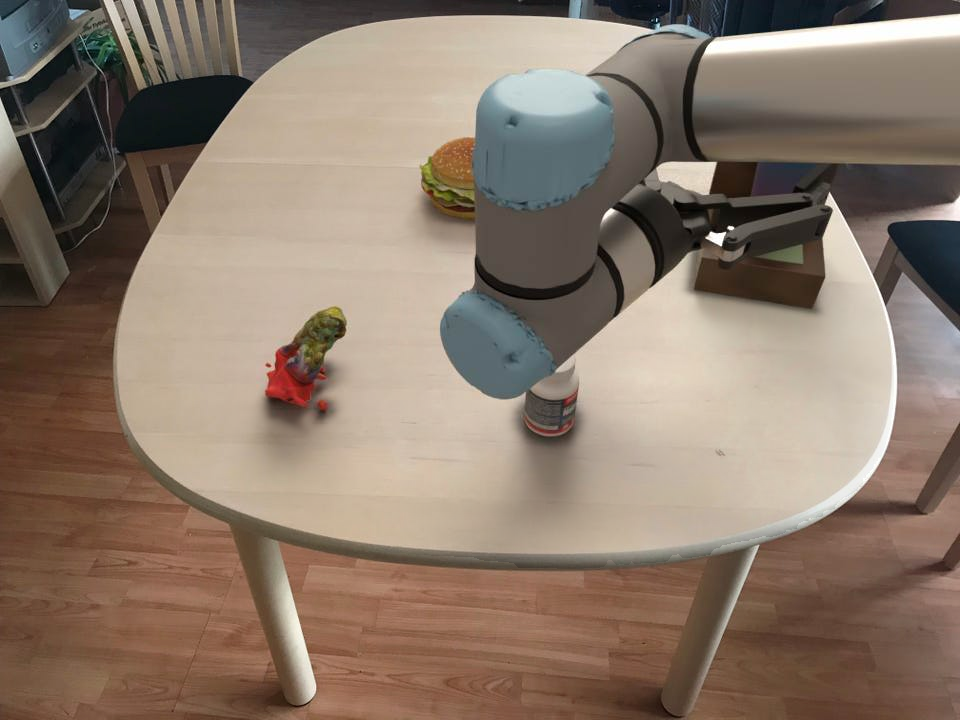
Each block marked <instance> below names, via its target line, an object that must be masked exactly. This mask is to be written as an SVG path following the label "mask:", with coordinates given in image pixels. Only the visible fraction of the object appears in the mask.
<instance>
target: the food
mask: <svg viewBox="0 0 960 720" xmlns="http://www.w3.org/2000/svg"><path fill="white" fill-rule="evenodd" d="M474 148H475V136H474V137H470V136H465V137H459V138H456V139H453V140H449V141H446V143H443V145H441V146H440V147H439V148H437V149H436V150H435V151H434V153H433V154H432V156H430V155H429V156H428V158H427V162H426V163H425V164H423V165H421V164H420V165H419V168H420V170H421V172H420V174H421V179H420V182H421V183H420V185H421V189H422V190H423V192H424V193H426V194H427V195H428V196H429V198H430V200H431V202H432V204H433V206H434V208H436V209H437V210H439V211H441V212H442V213H444V214H446V215H447V216H450V217H454V218H460V219H465V220H467V219H470V220H471V219H475V203H474V176H473V174H472V164H471V162H472V159H473V149H474Z"/></svg>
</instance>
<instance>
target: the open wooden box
mask: <svg viewBox="0 0 960 720" xmlns="http://www.w3.org/2000/svg"><path fill="white" fill-rule="evenodd" d="M819 164H820V163H818V165H819ZM757 165H758V162H732V161H717V162H715V166H714V170H713V173H712V174H713V175H712V178H711V183H710V187H709V191H708V195H710V194H724V195H725V196H726V198H728V199H729V198H742V197H751V192H752V188H753V183H754V178H755V174H756V169H757ZM818 165H817V166H818ZM840 166H841V163H837V166H836V169H835V171H834V174H833V177H832V180H831V182H830V184H831V185H830V190H829V193H828V195H827V198H826V201H825V203H824V204H823V205H826V202H827V200H828V197H829V195H830V192H831V190H832V187H833V184H834V181H835V179H836V176H837V174H838V170H839V168H840ZM708 211H709V217H710V221H711V217H712V213H713V209H708ZM823 238H824V237H823ZM823 238H822V239H820V240H816V241H812V242H809V243H805V244H801V245H797V246H794V247H790V248H786V249H782V250H778V251H775V252H771V253H767V254H763V255H760V256H756V257H752V258H748V259H745V260H743V261H742V262H740V263H739V264H737V265H736V266H735V267H733V268H732V269H729V270H724V269H721V268H719V267H718V266H717V260H718V256H717V255H715V254H713V253H711V252H710V251H708V250H706V249H704V248H702V249H700V250H697V255H696V257H697V258H696V265H695V273H694V281H693V290H695V291H700V292H707V293H711V294H712V293H713V294H717V295H718V294H719V295H724V296H731V297H737V298H743V299H749V300H755V301H762V302H767V303H774V304H778V305H779V304H780V305H786V306H791V307H798V308H805V309H810V310H813V308H814V306H815V304H816V301H817V299H818V296H819V294H820V291H821V289H822V286H823V284H824V281H825V280H826V265H825V252H824V239H823Z"/></svg>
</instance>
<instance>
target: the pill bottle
mask: <svg viewBox="0 0 960 720" xmlns="http://www.w3.org/2000/svg"><path fill="white" fill-rule="evenodd" d="M576 362H577V359H576V355H575V354H573V355H572V356H571V357H570V358H569V359H568V360H567V361H566V362H564V363H563V364H562V365H561V366H560V367H559V368H558V369H557V370H556V372H555V373H554V374H553V375H551V376H549V377H545V378H543V379H542V380H541V381H539V382H538V383H537V384H535V385H534V386H533V387H532V388H530V389H529V390H528V391H526V392H525V397H524V407H523V409H524V410H523V419H524V422H525V424H526V426H527V427H528V429H529V430H530V431H532V432H534V433H536V434H537V435H540V436H543V437H558V436H561V435H563V434H565V433H567V432H568V431H570V429H571V428H572V427H573V425H574V423H575V417H576V410H577V402H578V395H579V388H580V374H579V372H578V370H577V369H576Z"/></svg>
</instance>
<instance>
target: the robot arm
mask: <svg viewBox="0 0 960 720" xmlns="http://www.w3.org/2000/svg"><path fill="white" fill-rule="evenodd" d="M474 130H475V131H474V132H475V134H474V135H475V136H474V137H475V148H474V149H473V159H472V162H471V164H472V174H473V176H474V203H475V218H474V233H475V234H474V235H475V236H474V237H475V255H474V260H473V261H474V270H473V271H474V283H473V285H472V287H471V288H470V289H469V290H468V289H467V290H466V291H462V292H461V294H459V295H458V297H457V298H456V299H455V300H454V301H453V302H452V303H451V304H450V305H448V307H447V308H446V309H445V311H444V312H443V314H442V317H441V319H440V323H439V335H440V340H441V344H442V348H443V349H444V352H445V354H446V357H447V358H448V360H449V361H450V363H451V365H452V366H453V368H454V369H455V371H456V372H457V373H458V374H459V375H460V377H461V378H462V379H463V380H464V381H465V382H466V383H468V385H470V386H471V387H474V388H475V389H476V390H478V391H480V392H481V393H482V394H483V395H485V396H487V397H490V398H493V399H497V400H504V401H505V400H506V401H507V400H512V399H513V400H514V399H516V398H519V397H521V396H522V395H525V394H526V391H528V390H529V389H530V388H532V387H533V386H534V385H535V384H537V383H538V382H539V381H541V380H542V379H543V378H545V377H549V376H551V375H553V374H554V373H555V372H556V370H557V369H558V368H559V367H560V366H561V365H562V364H563V363H564V362H566V361H567V360H568V359H569V358H570V357H571V356H572V355H573V354H574V355H575V354H576V353H577V352H578V351H579V350H580V349H581V348H583V347H584V346H585V345H586V344H587V343H589V342H590V341H591V340H592V339H593V338H594V337H596V336H597V335H598V334H599V333H601V331H602V330H603V329H604V328H606V326H608V324H609V323H610V322H611V321H612V320H614V319H615V318H617V317H618V316H619V315H621V314H622V313H623V312H624V311H625V310H626V309H628V308H629V307H630V306H631V305H632V304H633V303H634V302H635V301H637V300H638V299H639V298H640V297H641V296H643V295H644V294H645V293H646V292H647V291H648V290H649V289H651V288H653V287H654V286H655V285H656V284H658V283H659V282H660V281H661V280H662V279H664V277H666V276H667V275H668V274H669V273H670V272H672V271H673V270H674V269H676V267H677V266H678V265H679V264H680V263H681V262H682V261H683V259H684V258H685V257H686V256H687V255H688V254H689V253H692V252H695V251H696V252H697V251H698V250H700V249H702V248H704V249H706V250H708V251H710V252H711V253H713V254H715V255H717V256H718V260H717V266H718V267H719V268H721V269H724V270H729V269H732V268H733V267H735V266H736V265H737V264H739V263H740V262H742V261H743V260H745V259H748V258H752V257H756V256H760V255H763V254H767V253H771V252H775V251H778V250H782V249H786V248H790V247H794V246H797V245H801V244H805V243H809V242H812V241H816V240H820V239H822V238H824V237H825V233H826V230H827V228H828V225H829V222H830V219H831V217H832V215H833V212H834V209H833V207H831V206H829V205H827V204H826V203H825V201H826V202H827V200H826V198H827V199H828V197H827V195H828V193H829V194H830V192H829V190H830V191H831V189H830V185H831V184H830V182H831V180H832V177H833V174H834V171H835V169H836V166H837V163H840V164H854V165H855V164H857V165H858V164H859V165H860V164H861V165H866V164H867V165H909V166H911V165H913V166H915V165H918V166H919V165H920V166H960V13H953V14H943V15H942V14H941V15H934V16H933V15H932V16H923V17H922V16H921V17H913V18H912V17H911V18H902V19H901V18H900V19H891V20H883V21H881V20H880V21H871V22H862V23H852V24H839V25H829V26H820V27H819V26H818V27H810V28H809V27H808V28H799V29H789V30H780V31H770V32H769V31H767V32H759V33H748V34H738V35H728V36H727V35H726V36H715V37H711V36H710V35H709V34H708V33H706V32H703V31H701V30H699V29H697V28H695V27H693V26H690V25H687V24H682V23H681V24H679V23H676V24H675V23H673V24H667V25H663V26H660V27H657V28H656V29H655V28H654V29H653V30H651V31H649V32H647V33H643V34H640V35H637V36H636V37H635V38H633V39H632V40H631V41H628V42H626V43H625V44H624V45H623V46H621V47H620V49H618V50H617V51H616V52H615V53H614V54H613V55H612V56H610V57H609V58H607V59H606V60H604V61H602V62H601V63H600V64H599V65H597V66H596V67H595V68H593V69H592V70H590V71H589V72H588V73H586V74H583V73H582V74H581V73H579V72H575V71H573V70H568V69H562V68H552V67H551V68H550V67H544V68H542V67H541V68H529V69H528V70H527V69H526V71H525V72H524V73H508V74H505V75H503V76H501V77H500V78H498V79H496V80H495V81H493V82H492V83H491V84H490V85H489V86H488V87H487V88H486V89H484V91H483V93H482V95H480V97H479V101H478V103H477V106H476V112H475V129H474ZM717 161H732V162H791V163H820V164H819V165H818V166H817V167H815V168H814V169H813V170H812V171H811V172H810V173H809V174H808V175H806V176H805V177H804V178H803V179H802V180H801V181H800V182H798V183H797V184H796V185H795V187H794V190H793V193H792V194H780V195H767V196H755V197H742V198H729V199H728V198H726V196H725V195H724V194H710V195H709V194H702V193H699V192H697V191H694V190H691V189H686V188H683V186H680V185H679V184H678V183H676V182H673V181H671V180H668V181H667V182H666V181H661V180H660V178H659V174H658V170H657V168H659V167H660V166H661V165H663V164H666V163H674V162H675V163H716V162H717ZM828 196H829V195H828ZM824 203H825V205H823V204H824ZM708 209H713V213H712V217H711V221H710V217H709V211H708Z"/></svg>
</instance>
